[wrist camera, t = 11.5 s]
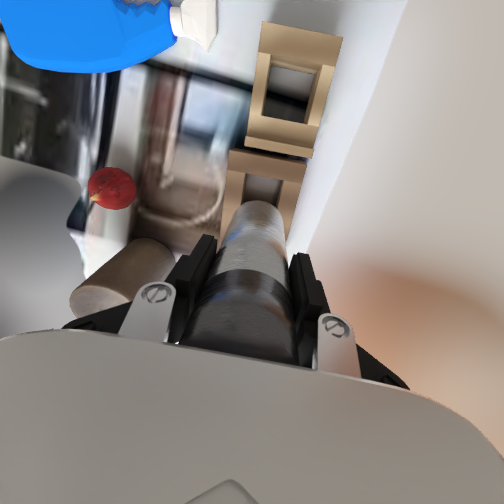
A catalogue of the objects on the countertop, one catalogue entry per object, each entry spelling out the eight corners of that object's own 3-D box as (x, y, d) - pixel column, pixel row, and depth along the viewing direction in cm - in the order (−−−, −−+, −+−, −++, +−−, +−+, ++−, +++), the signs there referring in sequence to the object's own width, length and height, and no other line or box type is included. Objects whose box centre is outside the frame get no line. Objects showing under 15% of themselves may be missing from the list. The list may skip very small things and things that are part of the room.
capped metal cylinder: (234, 195, 16) (171, 319, 6) (289, 206, 17) (319, 346, 6) (228, 243, 18) (171, 399, 8) (276, 253, 18) (283, 419, 8)
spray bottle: (16, 69, 28) (216, 72, 26) (-39, -72, 22) (209, -76, 21) (37, 74, 30) (221, 76, 29) (-7, -51, 25) (216, -54, 24)
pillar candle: (116, 240, 41) (44, 294, 28) (166, 234, 40) (114, 288, 27) (138, 282, 46) (84, 346, 33) (183, 278, 44) (146, 343, 31)
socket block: (233, 147, 32) (223, 153, 26) (303, 160, 32) (311, 169, 26) (222, 245, 40) (212, 269, 33) (278, 256, 40) (279, 281, 33)
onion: (113, 156, 34) (73, 164, 27) (150, 176, 35) (120, 188, 28) (106, 189, 37) (67, 204, 30) (140, 207, 38) (110, 226, 31)
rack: (263, 38, 26) (261, 16, 21) (331, 51, 26) (346, 33, 21) (248, 142, 32) (244, 145, 26) (305, 153, 32) (311, 158, 27)
